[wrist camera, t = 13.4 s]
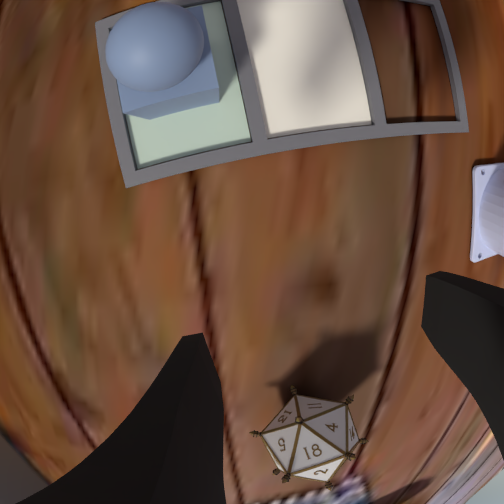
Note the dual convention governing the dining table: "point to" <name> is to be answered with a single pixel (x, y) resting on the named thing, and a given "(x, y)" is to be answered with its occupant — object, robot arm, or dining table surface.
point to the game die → (311, 438)
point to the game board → (271, 87)
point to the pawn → (162, 60)
